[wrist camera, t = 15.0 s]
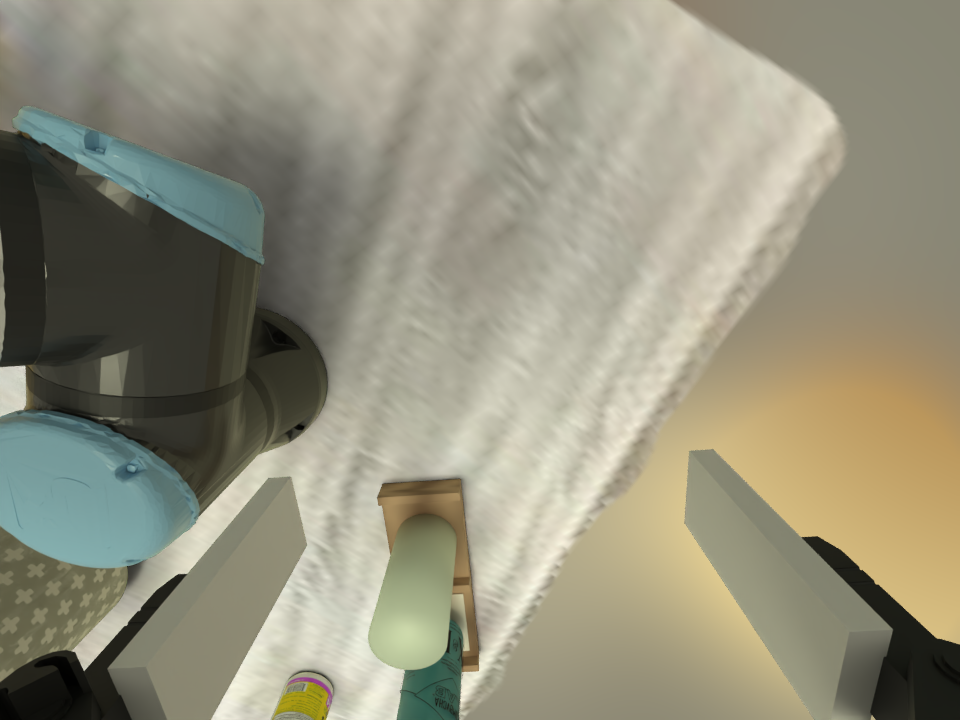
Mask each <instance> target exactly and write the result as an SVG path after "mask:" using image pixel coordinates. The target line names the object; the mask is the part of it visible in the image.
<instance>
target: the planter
mask: <svg viewBox="0 0 960 720" xmlns="http://www.w3.org/2000/svg"><path fill="white" fill-rule="evenodd" d="M127 578H128V570H127V566H125V567H119V568H91V567H84V566H79V565H74V564H70V563H66V562H63V561H60V560H57V559H54V558H51V557H49V556H46V555H44V554H42V553H40V552H38V551H36V550H34V549H32V548H30V547H28V546H27V545H25V544H24V543H22V542H21V541H19V540H18V539H17V538H16V537H15V536H13V535H12V534H10V533H9V532H7V531H6V530H4V529H3V528H2V527H1V526H0V682H1V681H2V680H3V679H5V678H6V677H7V676H9V675H10V674H11V673H13V672H14V671H15V670H17V669H18V668H20V667H21V666H23V665H25V664H27V663H28V662H30V661H32V660H34V659H36V658H38V657H41V656H43V655H46V654H48V653H51V652H55V651H62V650H69V651H72V650H73V649H74V648H75V647H76V646H77V645H78V644H79V643H80V642H81V640H82V639H83V638H84V637H85V636H86V635H87V634H88V633H89V632H90V631H91V630H92V629H93V628H94V627H95V626H96V625H97V624H98V623H99V622H100V621H101V620H102V619H103V618H104V617H105V616H106V615H107V614H108V613H109V611H110V610H111V609H112V608H113V607H114V606H115V605H116V604H117V603H118V602H119V600H120V599H121V597H122V595H123V593H124V591H125V588H126V585H127Z"/></svg>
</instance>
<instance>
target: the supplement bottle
mask: <svg viewBox="0 0 960 720" xmlns="http://www.w3.org/2000/svg"><path fill="white" fill-rule="evenodd" d="M332 699H333V688H332V685H331V683H330V682H329V681H328V680H327V679H326V678H325V677H323V676H321V675H319V674H316V673H311V672H303V673H299V674H296V675H294V676H293V677H291V678H290V679H289V680H288V682H287V683H286V685H285V687H284V689H283V692H282V694H281V696H280V699H279V701H278V703H277V706H276V708H275V711H274V713H273V715H272V718H271V720H326V718H327V715H328V712H329V709H330V705H331V702H332Z"/></svg>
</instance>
